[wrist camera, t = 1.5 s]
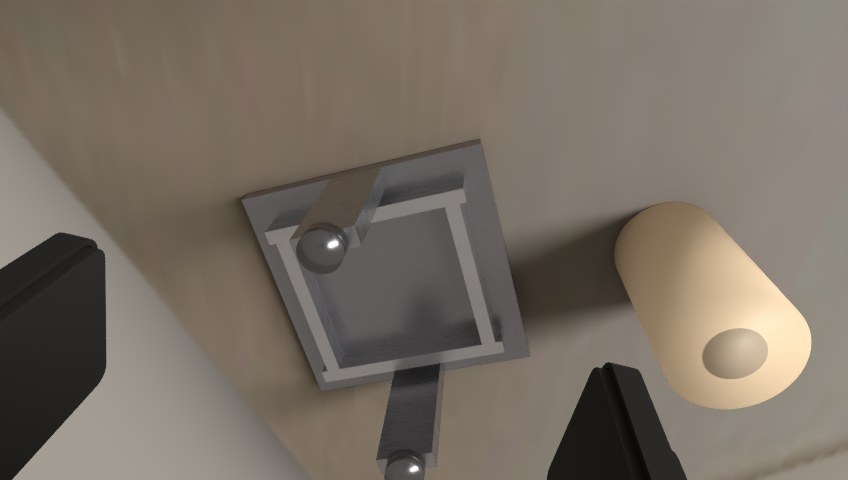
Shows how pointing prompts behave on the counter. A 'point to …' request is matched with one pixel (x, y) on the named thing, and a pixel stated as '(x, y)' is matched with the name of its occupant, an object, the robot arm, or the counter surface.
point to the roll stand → (395, 284)
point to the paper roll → (709, 309)
